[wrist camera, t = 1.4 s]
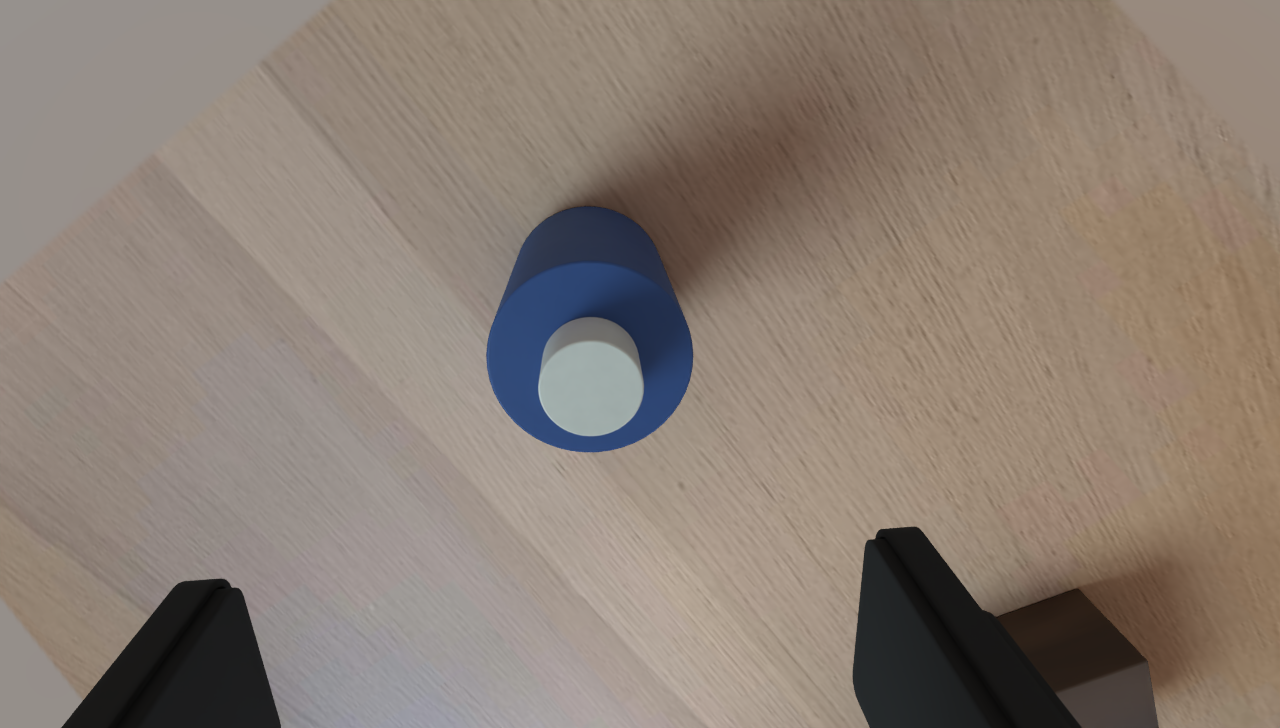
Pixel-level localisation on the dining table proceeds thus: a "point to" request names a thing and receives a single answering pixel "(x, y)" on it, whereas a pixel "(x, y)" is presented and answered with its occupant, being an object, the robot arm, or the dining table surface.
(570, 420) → the bottle
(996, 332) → the dining table surface
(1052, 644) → the block
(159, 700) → the robot arm
